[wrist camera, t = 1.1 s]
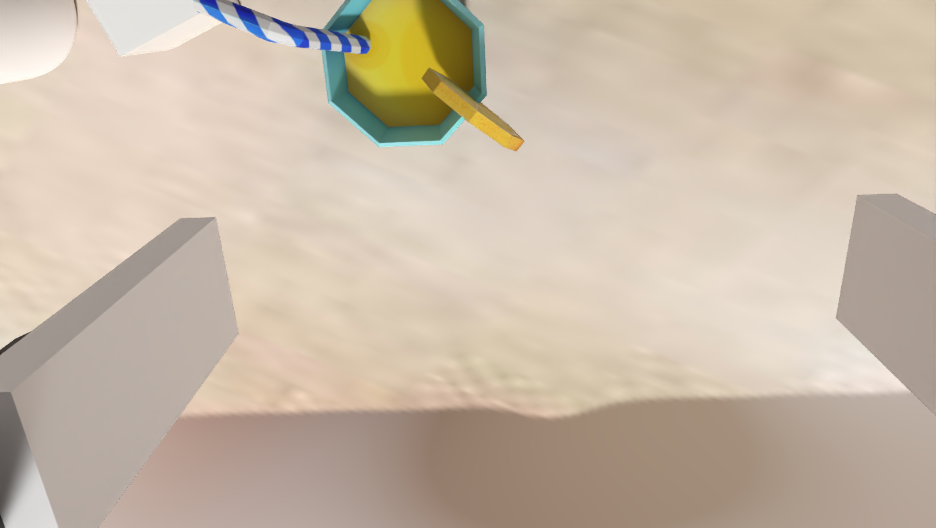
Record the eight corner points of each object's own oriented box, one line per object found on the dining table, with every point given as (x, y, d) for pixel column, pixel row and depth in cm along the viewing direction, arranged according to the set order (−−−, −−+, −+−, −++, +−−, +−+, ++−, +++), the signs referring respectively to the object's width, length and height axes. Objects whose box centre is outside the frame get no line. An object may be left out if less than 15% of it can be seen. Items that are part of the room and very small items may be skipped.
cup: (280, 67, 41) (167, 100, 27) (314, -70, 38) (207, -112, 24) (501, 147, 42) (503, 219, 28) (549, 20, 39) (577, 30, 25)
